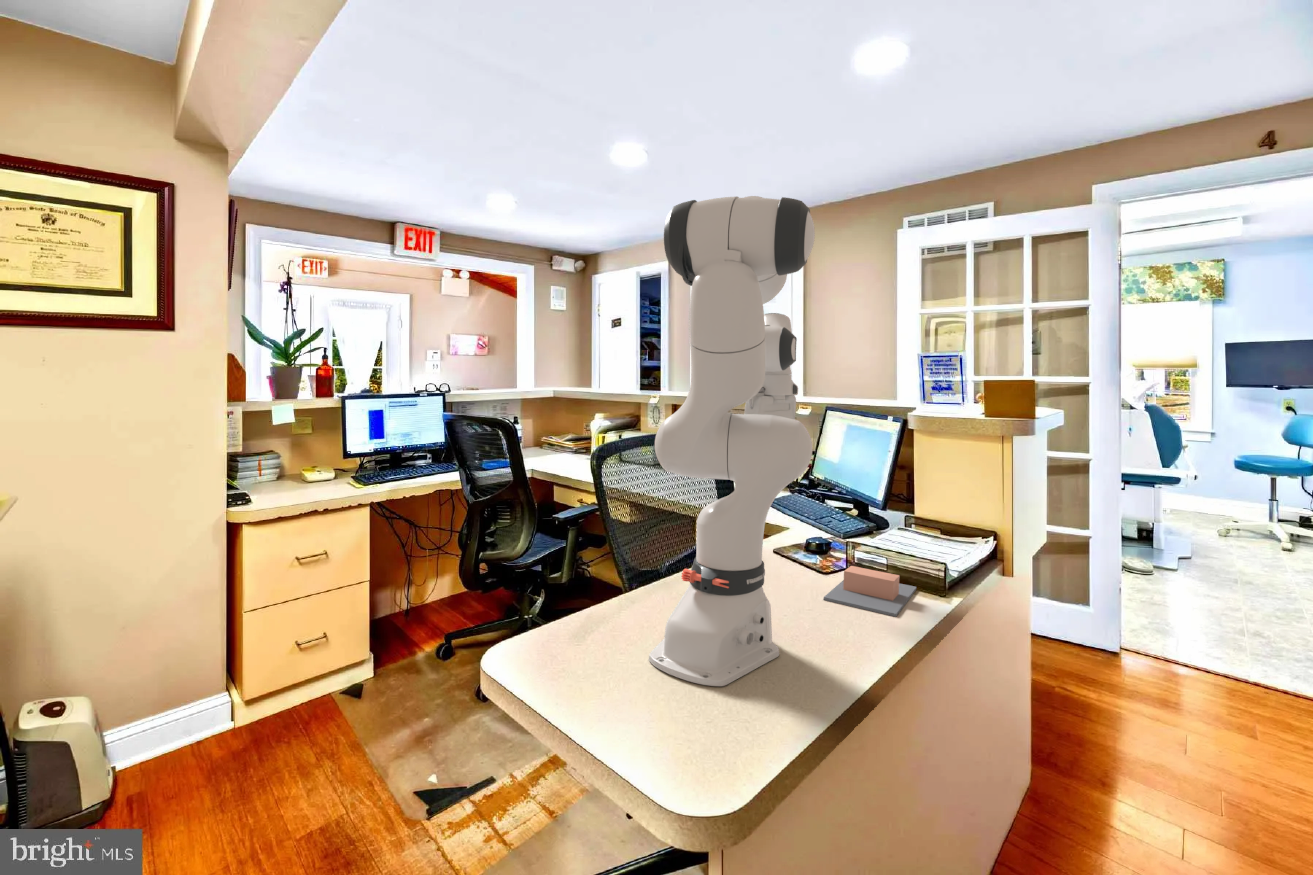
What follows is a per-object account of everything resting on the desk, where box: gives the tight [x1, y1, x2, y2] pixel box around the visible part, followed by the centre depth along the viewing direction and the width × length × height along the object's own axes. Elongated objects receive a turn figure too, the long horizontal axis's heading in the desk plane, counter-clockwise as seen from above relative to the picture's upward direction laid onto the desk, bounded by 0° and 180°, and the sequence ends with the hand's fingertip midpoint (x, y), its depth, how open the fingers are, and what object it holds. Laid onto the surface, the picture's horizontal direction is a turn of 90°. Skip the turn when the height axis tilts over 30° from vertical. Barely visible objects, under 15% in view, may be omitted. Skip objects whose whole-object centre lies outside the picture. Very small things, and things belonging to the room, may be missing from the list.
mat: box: [823, 579, 917, 618], centre depth 119 cm, size 18×14×1 cm
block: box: [843, 565, 900, 601], centre depth 119 cm, size 4×4×10 cm
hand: (769, 448), depth 130 cm, fingers open, 8 cm apart
